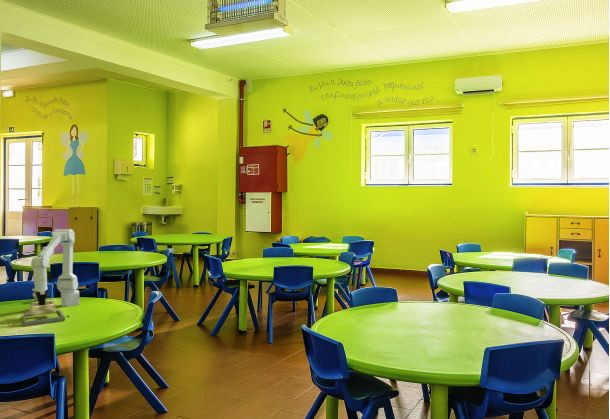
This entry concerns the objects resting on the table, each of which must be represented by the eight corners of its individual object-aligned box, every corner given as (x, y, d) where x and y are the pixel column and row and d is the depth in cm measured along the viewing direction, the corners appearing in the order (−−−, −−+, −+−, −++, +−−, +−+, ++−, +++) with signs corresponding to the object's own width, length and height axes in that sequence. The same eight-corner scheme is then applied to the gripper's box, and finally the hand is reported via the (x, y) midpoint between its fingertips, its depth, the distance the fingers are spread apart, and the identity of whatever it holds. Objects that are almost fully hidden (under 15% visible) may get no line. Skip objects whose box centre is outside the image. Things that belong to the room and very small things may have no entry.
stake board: (53, 307, 291) (52, 295, 291) (56, 313, 278) (56, 301, 277) (22, 311, 283) (22, 299, 283) (25, 317, 270) (24, 305, 269)
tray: (60, 313, 277) (60, 309, 277) (65, 320, 262) (64, 316, 262) (22, 318, 268) (21, 314, 267) (24, 326, 252) (24, 322, 252)
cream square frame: (53, 306, 273) (53, 299, 273) (56, 312, 262) (55, 304, 262) (29, 309, 267) (29, 301, 267) (31, 315, 257) (31, 307, 256)
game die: (39, 308, 307) (32, 297, 300) (33, 301, 312) (25, 290, 305) (53, 298, 312) (46, 287, 305) (46, 292, 316) (40, 281, 310)
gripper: (30, 278, 272) (31, 304, 273) (33, 282, 260) (34, 309, 260) (45, 277, 276) (46, 302, 276) (48, 281, 264) (49, 307, 264)
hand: (41, 305), depth 269 cm, fingers closed on cream square frame, 3 cm apart
